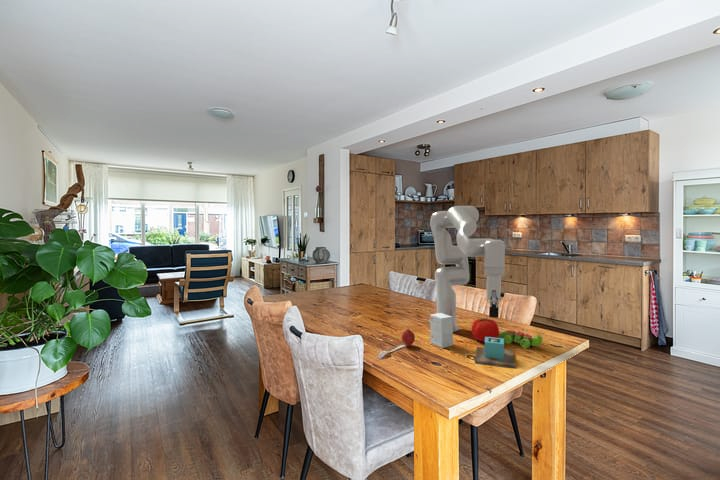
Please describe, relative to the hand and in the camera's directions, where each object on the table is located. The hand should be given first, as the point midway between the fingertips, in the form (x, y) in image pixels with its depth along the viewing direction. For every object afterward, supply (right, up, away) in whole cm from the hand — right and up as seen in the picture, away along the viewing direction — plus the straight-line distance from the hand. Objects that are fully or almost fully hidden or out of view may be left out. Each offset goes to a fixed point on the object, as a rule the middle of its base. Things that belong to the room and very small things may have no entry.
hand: (493, 314), depth 137 cm
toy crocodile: (+17, -17, +16) cm, 29 cm away
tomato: (+4, -17, +21) cm, 27 cm away
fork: (-40, -18, +9) cm, 45 cm away
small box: (-17, -17, +17) cm, 29 cm away
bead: (0, -17, 0) cm, 17 cm away
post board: (0, -18, 0) cm, 18 cm away
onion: (-32, -18, +15) cm, 39 cm away
